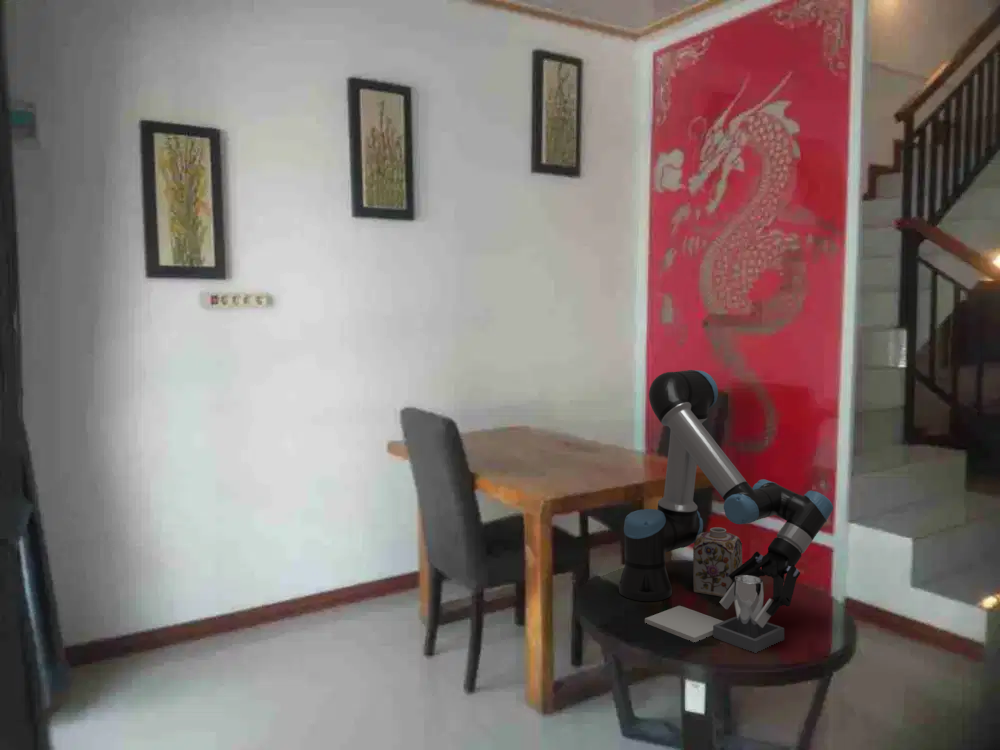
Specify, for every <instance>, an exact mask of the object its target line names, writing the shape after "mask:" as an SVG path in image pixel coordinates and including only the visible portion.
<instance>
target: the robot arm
mask: <svg viewBox="0 0 1000 750" xmlns="http://www.w3.org/2000/svg"><path fill="white" fill-rule="evenodd" d="M718 389H719V388H718V385H717V383H716V381H715V380H714V379H713V377H712V375H711V374H709V373H707V372H706V371H704V370H696V369H694V370H693V369H687V370H680V371H679V370H678V371H666V372H663V373H661V374H660V375H657V376H656V377H655V379H653V381H652V383H651V384H650V386H649V390H648V399H649V404H650V406H651V410H652V411H653V413H654V414H655V416H656V418H657V419H658V421H659V422H660V423H661V425H662V426H664V427H668V428H669V429H670V433H669V441H668V443H669V444H668V453H667V463H666V472H665V480H664V481H665V482H664V491H663V496H662V498H660V499H659V500H658V502H657V509H655V508H645V509H637V510H635V511H631V512H629V514H627V515H626V517H625V518H624V526H623V533H624V534H623V538H624V539H623V540H624V543H623V544H624V567H623V570H622V573H621V576H620V580H619V582H618V592H619V594H620V596H622V597H624V598H625V599H626V598H627V599H631V600H634V601H640V602H658V601H663V600H667V599H669V598H670V597H671V596H672V592H673V591H672V590H673V589H672V588H673V586H672V583H671V581H670V579H669V575H668V571H667V568H666V553H668V552H672V551H674V550H678V549H683V548H688V547H689V546H691V545H694V543H695V541H696V538H697V536H698V535H699V534H700V533H703V532H704V530H703V529H704V520H703V518H702V517H701V514H700V512H699V511H698V505H697V504H696V502H694V497H695V496H694V493H695V487H696V486H695V485H696V475H697V466H698V468H699V469H700V471H702V473H703V474H704V476H705V477H706V478H707V480H708V482H710V483H711V485H712V487H714V489H715V490H716V491H717V492H718V494H719V496H721V498H722V499H723V501H724V502H723V510H724V511H723V512H724V513H725V514H724V515H725V516H726V518H727V519H728V520H729V521H730V522H732V523H733V524H736V525H745V524H751V523H754V522H756V521H758V520H761V519H767V518H769V517H772V516H776V517H778V518H781V519H783V520H785V523H784V524H783V526H781V528H780V530H779V531H778V532H777V533H776V537H774V538H773V539H772V541H771V542H770V544H769V545H768V547H767V553H766V554H764V555H763V554H761V553H760V552H759V551H755V552H754V553H753V554H752V555H751V557H750V558H749V559H747V560H746V561H745V562H744V563H742V565H741V566H740V567H739V568H737V569H736V570H735V571H733V572H732V573H731V574H730V575H729V577H730V578H731V580H732V583H731V585H730V586H729V587H728V589H727V590H726V594H725V595H724V597H721V600H720V601H719V603H720V605H721V606H722V607H723V608H724V609H725V610H729V608H730V607H731V605H732V604H733V603H734V583H735V576H739V575H752V576H756V577H759V578H761V577H765V576H766V577H771V578H772V579H773V580H772V581H773V584H772V596H771V598H769V599H768V600H767V601H766V603H765V605H763V608H762V610H761V611H760V613H759V614H758V616H757V617H756V618H755V620H754V621H755V622H756V623H757V624H758V625H759V626H760V627H762V628H763V627H764V625H765V624H766V623H767V622H769V620H770V618H771V617H773V616H774V615H775V614H776V613H777V612H778V610H779V609H780V607H782V606H786V607H790V606H791V603H792V599H793V595H794V591H795V586H796V583H797V581H798V578H799V576H800V575H801V571H800V570H799V569H797V567H796V565H797V564H798V563H799V561H800V559H801V558H802V554H804V553H805V552H806V550H807V549H808V548H809V546H810V544H812V542H813V540H814V538H815V537H816V536H817V535H818V533H819V532H820V530H821V529H822V528H823V526H824V525H825V524H826V523H827V521H828V519H829V517H830V516H831V515H832V512H833V510H834V506H833V503H832V502H831V500H830V499H829V498H828V497H826V495H824V494H822V493H820V492H819V491H816V490H815V491H814V490H808V491H806V493H804V495H802V494H798V493H797V492H794V491H792V490H790V489H788V488H785V487H784V486H782V485H780V484H778V483H777V482H774V481H770V480H767V479H764V478H763V479H759V480H758V481H757V482H756V483H754V485H753V486H751V485H750V484H749V483H748V481H746V478H745V477H744V476H743V475H742V473H741V472H740V471H739V470H738V468H737V467H736V466H735V465H734V463H732V461H731V460H730V458H729V457H728V455H726V453H725V452H724V451H723V450H722V448H721V447H720V446H719V444H718V443H717V442H716V440H715V439H714V438H713V436H712V435H711V434H710V432H709V431H708V430H707V429H706V428H705V426H704V425H703V423H704V422H705V421H707V420H708V416H709V415H708V414H709V409H710V408H712V407H713V406H714V405H715V404H716V402H717V400H718V396H719V390H718ZM785 575H786V576H785Z"/></svg>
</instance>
